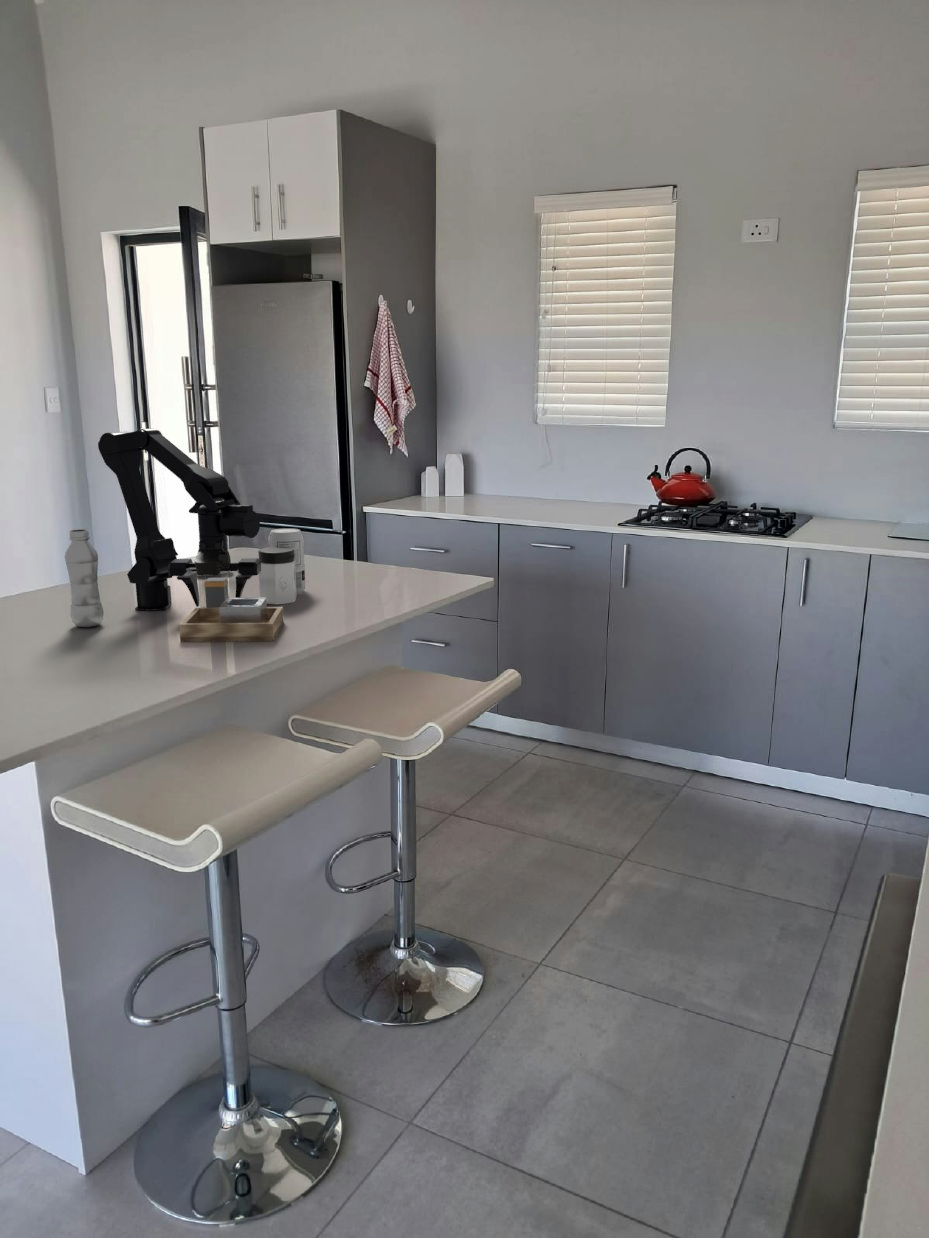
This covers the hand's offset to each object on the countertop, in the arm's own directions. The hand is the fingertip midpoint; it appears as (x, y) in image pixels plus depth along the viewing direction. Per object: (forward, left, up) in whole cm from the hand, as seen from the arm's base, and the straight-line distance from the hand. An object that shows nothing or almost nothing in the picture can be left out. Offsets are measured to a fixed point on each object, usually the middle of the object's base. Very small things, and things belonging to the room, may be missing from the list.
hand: (217, 606), depth 200 cm
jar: (+11, +14, -2) cm, 18 cm away
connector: (0, 0, -2) cm, 2 cm away
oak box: (+6, -14, -2) cm, 15 cm away
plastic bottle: (-25, -8, -2) cm, 26 cm away
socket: (+8, -13, -2) cm, 15 cm away
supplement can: (+12, +23, -2) cm, 26 cm away
